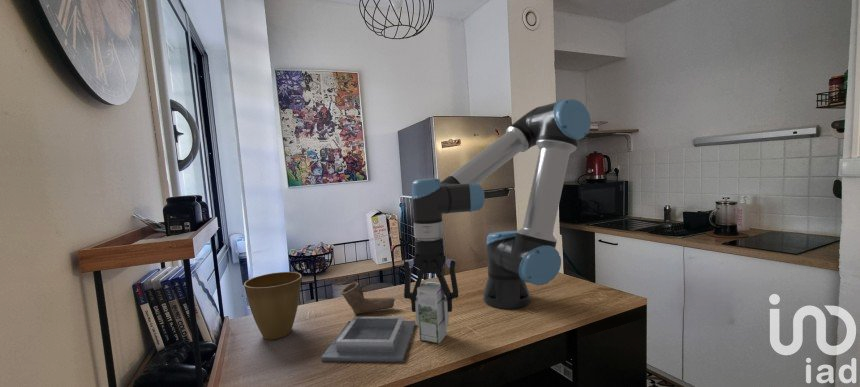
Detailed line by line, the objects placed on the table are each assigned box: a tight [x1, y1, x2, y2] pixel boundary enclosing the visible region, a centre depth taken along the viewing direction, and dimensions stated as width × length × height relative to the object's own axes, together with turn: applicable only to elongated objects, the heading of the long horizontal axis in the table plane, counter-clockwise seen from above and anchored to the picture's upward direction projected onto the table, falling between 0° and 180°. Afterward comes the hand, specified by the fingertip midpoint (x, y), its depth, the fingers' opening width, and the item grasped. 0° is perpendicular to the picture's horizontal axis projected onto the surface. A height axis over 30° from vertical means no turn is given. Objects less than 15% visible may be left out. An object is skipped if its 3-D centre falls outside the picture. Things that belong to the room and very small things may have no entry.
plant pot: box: [243, 271, 302, 340], centre depth 100 cm, size 15×15×16 cm
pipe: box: [341, 281, 396, 315], centre depth 112 cm, size 6×17×10 cm, turn 101°
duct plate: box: [320, 316, 417, 363], centre depth 93 cm, size 20×20×4 cm
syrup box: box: [416, 281, 448, 344], centre depth 93 cm, size 6×6×14 cm
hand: (432, 323), depth 93 cm, fingers closed on syrup box, 7 cm apart
